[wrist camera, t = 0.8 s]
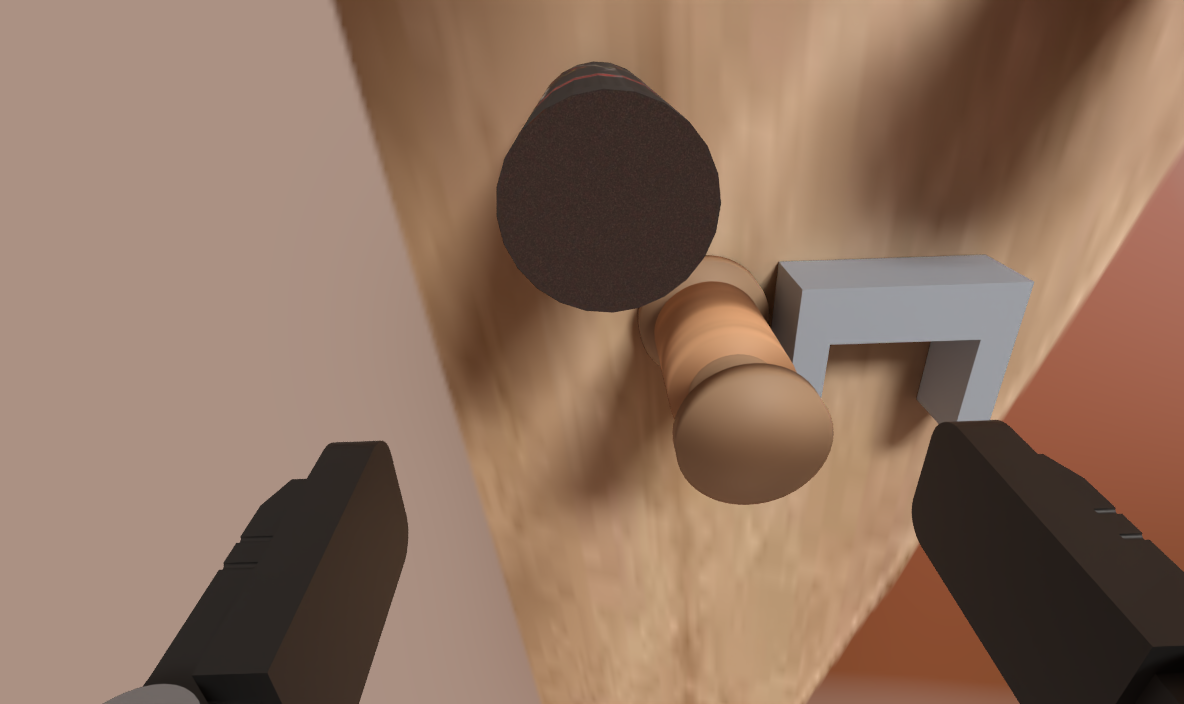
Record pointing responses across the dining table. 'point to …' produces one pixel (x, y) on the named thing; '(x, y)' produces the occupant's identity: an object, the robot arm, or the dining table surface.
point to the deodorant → (607, 192)
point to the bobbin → (733, 389)
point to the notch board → (908, 320)
